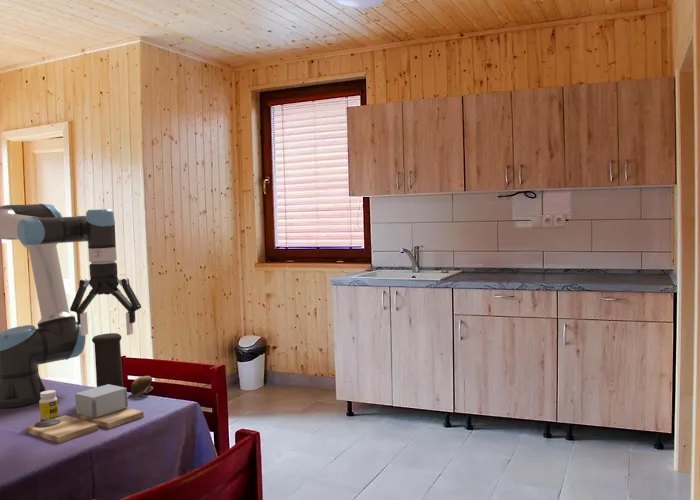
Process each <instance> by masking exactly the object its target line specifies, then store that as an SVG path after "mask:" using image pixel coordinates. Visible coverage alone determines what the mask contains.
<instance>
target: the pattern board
mask: <svg viewBox="0 0 700 500" xmlns="http://www.w3.org/2000/svg"><path fill="white" fill-rule="evenodd" d="M144 413H145V412H144V410H143V411H141V410H137V409H134V408H129V407H127V408H124V409H121V410H118V411H115V412H112V413H109V414H105V415H102V416H99V417H96V418H93V417H89V416H85V415H82V414H78V413H76V414H75V418H77V419H80V420H84V421H88V422H91V423H95V424H98V427H102V428H105V429H109V430H110V429H112V428H116V427H117V426H118V427H119V426H122V425H123V424H126V423H130V422H133V421H136V420H139V419H141V418H144Z"/></svg>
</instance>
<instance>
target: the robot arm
mask: <svg viewBox="0 0 700 500" xmlns="http://www.w3.org/2000/svg"><path fill="white" fill-rule="evenodd" d="M0 240H6V241H7V240H9V241H10V240H11V241H12V240H13V241H14V240H19V242H20V244H22V246H23V247H24V248H25V249H28V254H29V259H30V263H31V270H32V274H33V280H34V285H35V290H36V296H37V301H38V307H39V312H40V317H41V318H40V320H39V321H38V322H37V328H36V326H35V325H32V324H26V325H22V326H20V325H19V326H15V327H12V328H9V329H5V330H2V331H0V408H1V409H10V408H17V407H19V408H20V407H24V406H29V405H32V404H37V403H39V401H40V399H41V398H40V393H41V392H43V391H47V389H46V387H45V385H44V383H43V380H42V379H41V375H40V373H39V365H44V364H49V363H53V362H58V361H64V360H67V361H68V360H70V359H73V358H77V357H79V356H81V355H82V353H83V351H84V349H85V345H86V335H87V336H88V335H89V327H88V326H89V325H88V312H87V311H85V310H86V309H87V308H88V306H89V305H90V304H91V302H92V301H93V299H94V298H95V297H96V296H97V295H98V296H99V295H106V296H108V295H112V296H114V298H115V299H116V300H117V301H118V302H119V303H120V304H121V305H122V306H123V307H124V309H125V310H126V311H127V312H125V322H126V323H125V325H126V336H130V335H132V334H134V325H133V324H135V322H136V311H138V310H141V309H142V305H141V303H140V301H139V299H138V298H137V296H136V294H135V292H134V290H133V288H132V287H131V284H130V280H129V278H128V277H125V278H122V279H119V278H118V277H119V276H118V263H117V262H115V261H117V260H118V259H117V247H116V245H117V244H116V243H117V242H116V220H115V215H114V211H113V210H112V209H111V208H110V209H109V208H106V209H105V208H104V209H101V208H100V209H87V210H86V213H85V215H78V216H63V215H62V213H61V212H60V209H58V207H56V206H55V205H53V204H50V203H49V204H48V203H47V204H46V203H45V204H44V203H35V204H4V205H0ZM80 242H87V248H88V249H87V251H88V261H89V262H90V264H89V265H88V267H89V277H90V278H89V279H86V278H83V279H80V280H79V283H78V289H77V291H76V294H75V296H74V298H73V301H72V303H71V305H70V308H69V304H68V299H67V294H66V289H65V283H64V279H63V278H64V277H63V274H62V273H63V272H62V268H61V263H60V257H59V253H58V249H57V245H58V244H63V243H64V244H65V243H80ZM119 285H120V286H121V287H122V289H123V292H124V293H125V294H126V296H127V297H126V296H125V295H124V294H123V293H122V291H121V290H120V289H119V287H118V286H119ZM89 286H90V287H91V288H92V289H91V290H89V292H88V294H87V296H86V297H85V298H84V300H83V297H84V295H85V293H86V291H87V288H88V287H89ZM82 300H83V301H82ZM71 312H74V313H76V316H75V315H74V314H72V313H71ZM76 318H77V319H76Z"/></svg>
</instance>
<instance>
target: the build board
mask: <svg viewBox="0 0 700 500" xmlns="http://www.w3.org/2000/svg"><path fill="white" fill-rule="evenodd" d="M98 430H99V426H98V424H95V423H91V422H88V421H84V420H80V419H77V418H76V417H73V416H69V415H62V416H59V417H58V418H55V419H48V420H44V421H41V420H40V421H38V422H36V423H34V424H33V425H29V426H26V432H27V433H28V434H30V435H33V436H37V437H39V438H43V439H45V440H49V441H52V442H55V443H58V444H60V443H63V442H66V441H69V440H72V439H76V438H78V437H81V436H84V435H87V434H90V433H92V432H93V433H94V432H95V431H96V432H97V431H98Z"/></svg>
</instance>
